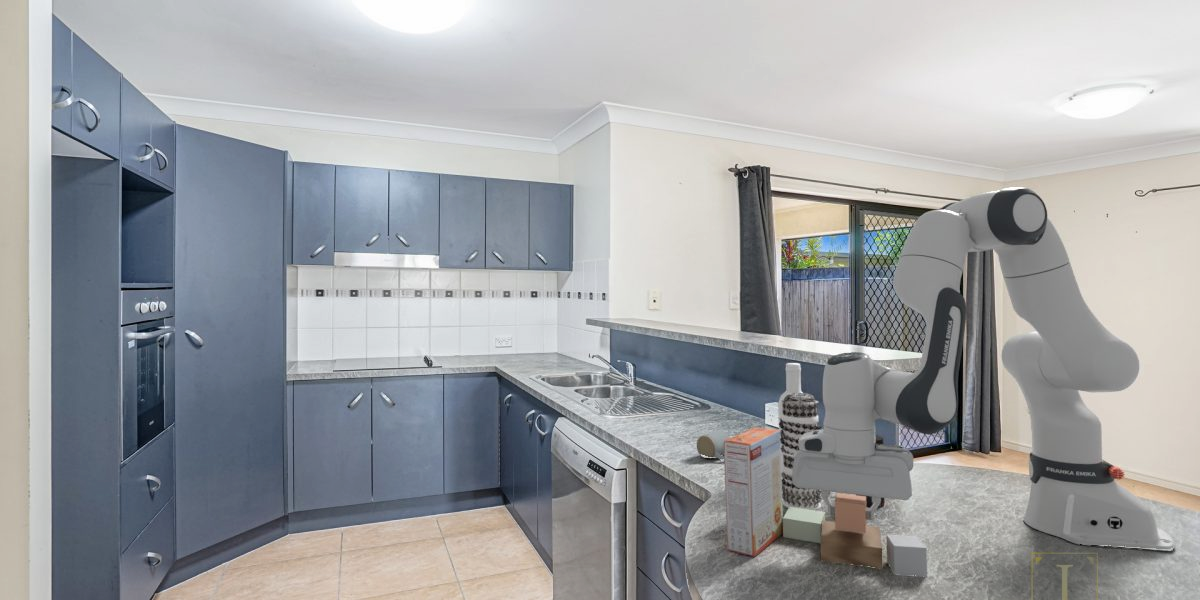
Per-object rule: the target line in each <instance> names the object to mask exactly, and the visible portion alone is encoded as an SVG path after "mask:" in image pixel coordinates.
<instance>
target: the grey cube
mask: <svg viewBox="0 0 1200 600" xmlns="http://www.w3.org/2000/svg"><path fill="white" fill-rule="evenodd" d="M885 538H886V563H887V562H888V563H887V565H888V564H889V565H890V566H889V565H888V566H889V567H891V568H890V570H891V571H892V570H893V571H892V573H893V572H894V573H893V574H894V575H895V574H900V575H899V576H904V575H914V576H913V577H918V576H924V577H923V578H927V577H928V566H927V565H928V562H927V560H928V559H927V555H928V554H927V547H926V546H925V544H924V542H922V540H921V539H920V537H918V536H916V535H908V534H907V535H903V534H890V533H889V534H888V533H887V534H886V537H885ZM915 575H916V576H915ZM925 576H926V577H925Z"/></svg>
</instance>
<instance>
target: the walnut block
mask: <svg viewBox="0 0 1200 600" xmlns="http://www.w3.org/2000/svg"><path fill="white" fill-rule="evenodd" d="M821 560H823V562H828V561H830V562H831V563H835V562H838V563H837V564H842V563H845V565H849V564H853V565H852V566H856V565H863V566H870V567H875V568H874V569H877V568H880V569H879V570H883V566H884V565H883V545H882V535H881V529H880V526H871V525H866V532H865V533H861V532H854V531H847V530H840V529H835V521H832V520H831V521H829V520H825V521H823V524H822V532H821V543H820V561H821ZM863 566H862V567H863ZM870 567H869V568H870Z"/></svg>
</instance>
